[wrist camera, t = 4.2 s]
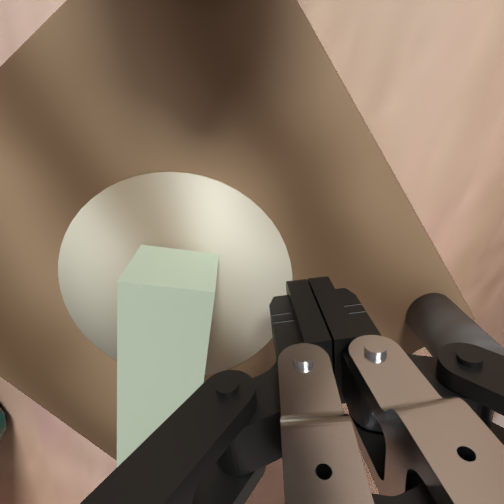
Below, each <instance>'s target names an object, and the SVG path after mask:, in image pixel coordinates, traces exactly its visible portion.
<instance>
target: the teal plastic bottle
mask: <svg viewBox="0 0 504 504" xmlns="http://www.w3.org/2000/svg"><path fill="white" fill-rule="evenodd" d="M6 427H7V422H6V417H5V413H4V411H3V410H2V409H1V407H0V441H1V440H2V438H3V435H4V433H5V431H6Z"/></svg>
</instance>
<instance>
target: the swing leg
mask: <svg viewBox="0 0 504 504" xmlns="http://www.w3.org/2000/svg"><path fill="white" fill-rule="evenodd" d="M218 258H219V254H215V253H207V252H198V251H190V250H182V249H173V248H165V247H157V246H148V245H141V246H140V247H139V249H138V250H137V252H136V253H135V255H134V257H133V258H132V260H131V261H130V263H129V264H128V266H127V267H126V269H125V271H124V272H123V274H122V275H121V277H120V278H119V280H118V281H117V467H118V466H119V465H120V464H121V463H122V462H123V461H124V460H125V459H126V458H127V457H128V456H129V455H130V454H131V453H133V452H134V451H135V450H136V449H137V448H138V447H139V446H140V445H141V444H142V443H143V442H144V441H145V440H146V439H147V438H148V437H149V436H150V435H151V434H152V433H153V432H154V431H155V430H156V429H157V428H158V427H159V426H160V425H161V424H162V423H163V422H164V421H165V420H166V419H167V418H168V417H169V416H170V415H171V414H172V413H173V412H175V411H176V410H177V409H178V408H179V407H180V406H181V405H182V404H183V403H184V402H185V401H186V400H187V399H188V398H189V397H190V396H191V395H192V394H193V393H194V392H195V391H196V390H197V389H198V388H199V387H200V386H201V385H202V384H203V383H204V375H205V368H206V360H207V352H208V344H209V336H210V328H211V321H212V313H213V305H214V297H215V289H216V278H217V268H218Z"/></svg>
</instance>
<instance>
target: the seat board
mask: <svg viewBox="0 0 504 504" xmlns="http://www.w3.org/2000/svg"><path fill="white" fill-rule="evenodd" d="M141 245H148V246H157V247H165V248H173V249H182V250H190V251H198V252H207V253H215V254H219V258H218V268H217V278H216V289H215V297H214V305H213V313H212V321H211V328H210V336H209V344H208V352H207V360H206V368H205V375H204V382H205V381H206V380H207V379H209V378H210V377H211V376H213V375H214V374H216V373H218V372H221V371H225V370H239V371H243V372H245V373H247V374H248V375H250V376H251V378H254V377H256V376H259V375H261V374H263V373H265V372H267V371H268V370H269V369H271V368H272V366H273V365H274V364H275V362H276V355H275V349H274V343H273V336H272V327H271V317H270V308H269V305H270V303H271V301H272V299H273V297H275V296H283V295H287V293H286V281H293V280H301V279H308V278H316V277H324V276H328V277H329V278H330V280H331V282H332V284H333V286H334V288H335V289H339V288H346V289H348V290H349V291H351V292H352V293H354V294H356V296H357V298H358V299H359V301H360V302H361V305H362V306H363V307H364V309H365V310H366V312H367V313H368V315H369V317H370V318H371V320H372V321H373V323H374V324H375V326H376V328H377V329H378V331H379V332H380V334H381V336H383V337H387V338H389V339H391V340H393V341H395V342H396V343H397V344H398V345H399V346H400V347H401V348H402V349H403V351H404V352H405V353H407V354H412V353H414V352H415V351H417V350H419V349H421V348H423V347H424V346H425V347H426V349H427V350H428V351H429V353H430V354H431V355H432V356H433V357H437V356H438V351H439V349H440V348H441V347H442V346H444V345H446V344H449V343H457V342H460V343H469V344H473V345H477V346H480V347H482V348H485V349H487V350H490V351H493V352H495V353H498V354H500V355H503V356H504V348H503V347H501V346H500V345H499V344H498V343H497V342H496V341H495V340H494V339H493V338H492V337H491V336H489V335H488V334H487V333H486V332H485V331H484V330H483V329H482V328H481V327H480V326H479V325H477V324H476V323H475V322H474V321H473V319H474V318H475V317H474V316H473V314H472V312H471V310H470V309H469V307H468V305H467V303H466V301H465V300H464V298H463V296H462V294H461V292H460V291H459V289H458V287H457V285H456V284H455V282H454V280H453V278H452V276H451V275H450V273H449V271H448V269H447V267H446V266H445V264H444V262H443V260H442V259H441V257H440V255H439V253H438V251H437V250H436V248H435V246H434V244H433V242H432V241H431V239H430V237H429V235H428V234H427V232H426V230H425V228H424V226H423V225H422V223H421V221H420V219H419V217H418V216H417V214H416V212H415V210H414V209H413V207H412V205H411V203H410V201H409V200H408V198H407V196H406V194H405V192H404V191H403V189H402V187H401V185H400V184H399V182H398V180H397V178H396V176H395V175H394V173H393V171H392V169H391V167H390V166H389V164H388V162H387V160H386V159H385V157H384V155H383V153H382V151H381V150H380V148H379V146H378V144H377V142H376V141H375V139H374V137H373V135H372V134H371V132H370V130H369V128H368V126H367V125H366V123H365V121H364V119H363V117H362V116H361V114H360V112H359V110H358V109H357V107H356V105H355V103H354V101H353V100H352V98H351V96H350V94H349V92H348V91H347V89H346V87H345V85H344V84H343V82H342V80H341V78H340V76H339V75H338V73H337V71H336V69H335V67H334V66H333V64H332V62H331V60H330V59H329V57H328V55H327V53H326V51H325V50H324V48H323V46H322V44H321V42H320V41H319V39H318V37H317V35H316V34H315V32H314V30H313V28H312V26H311V25H310V23H309V21H308V19H307V17H306V16H305V14H304V12H303V10H302V9H301V7H300V5H299V3H298V1H297V0H67V1H66V2H65V3H64V4H63V5H62V6H61V7H60V8H59V9H58V10H57V11H56V12H55V13H54V14H53V15H52V16H51V17H50V18H49V19H48V20H47V21H46V22H45V23H44V24H43V25H42V26H41V27H40V28H39V29H38V30H37V31H36V32H35V33H34V34H33V35H32V36H31V37H30V38H29V39H28V40H27V41H26V42H25V43H24V44H23V45H22V46H21V47H20V48H19V49H18V50H17V51H16V52H15V53H14V54H13V55H12V56H11V57H10V58H9V59H8V60H7V61H6V62H5V63H4V64H3V65H2V66H1V67H0V376H1V377H2V378H3V379H5V380H6V381H7V382H9V383H10V384H12V385H13V386H14V387H16V388H17V389H18V390H20V391H21V392H23V393H24V394H25V395H27V396H28V397H30V398H31V399H32V400H34V401H35V402H36V403H38V404H39V405H41V406H42V407H43V408H45V409H46V410H48V411H49V412H50V413H52V414H53V415H54V416H56V417H57V418H59V419H60V420H61V421H63V422H64V423H66V424H67V425H68V426H70V427H71V428H72V429H74V430H75V431H77V432H78V433H79V434H81V435H82V436H83V437H85V438H86V439H88V440H89V441H90V442H92V443H93V444H95V445H96V446H97V447H99V448H100V449H101V450H103V451H104V452H106V453H107V454H108V455H110V456H111V457H113V458H114V459H115V460H117V281H118V280H119V278H120V277H121V275H122V274H123V272H124V271H125V269H126V267H127V266H128V264H129V263H130V261H131V260H132V258H133V257H134V255H135V253H136V252H137V250H138V249H139V247H140V246H141Z"/></svg>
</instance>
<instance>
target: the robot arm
mask: <svg viewBox="0 0 504 504" xmlns="http://www.w3.org/2000/svg"><path fill="white" fill-rule="evenodd" d="M286 293H287V295H283V296H275V297H273V299H272V301H271V303H270V305H269V308H270V317H271V327H272V336H273V343H274V349H275V355H276V362H275V364H274V365H273V366H272V368H271V369H269V370H268V371H267V372H265V373H263V374H261V375H259V376H256V377H254V378H251V376H250V375H248V374H247V373H245V372H243V371H239V370H225V371H221V372H218V373H216V374H214V375H213V376H211V377H210V378H209V379H207V380H206V381H205V382H204V383H203V384H202V385H201V386H200V387H199V388H198V389H197V390H196V391H195V392H194V393H193V394H192V395H191V396H190V397H189V398H188V399H187V400H186V401H185V402H184V403H183V404H182V405H181V406H180V407H179V408H178V409H177V410H176V411H175V412H173V413H172V414H171V415H170V416H169V417H168V418H167V419H166V420H165V421H164V422H163V423H162V424H161V425H160V426H159V427H158V428H157V429H156V430H155V431H154V432H153V433H152V434H151V435H150V436H149V437H148V438H147V439H146V440H145V441H144V442H143V443H142V444H141V445H140V446H139V447H138V448H137V449H136V450H135V451H134V452H133V453H131V454H130V455H129V456H128V457H127V458H126V459H125V460H124V461H123V462H122V463H121V464H120V465H119V466H118V467H117V468H116V469H115V470H114V471H113V472H112V473H111V474H110V475H109V476H108V477H107V478H106V479H105V480H104V481H103V482H102V483H101V484H100V485H99V486H98V487H97V488H96V489H95V490H94V491H93V492H92V493H90V494H89V495H88V496H87V497H86V498H85V499H84V500H83V501H82V502H81V503H80V504H244V503H245V502H246V500H247V499H248V497H249V496H250V494H251V493H252V491H253V490H254V488H255V486H256V485H257V483H258V482H259V480H260V479H261V477H262V476H263V474H264V471H265V468H266V465H268V464H270V463H272V462H274V461H276V460H278V459H280V458H282V459H283V477H284V494H285V504H504V428H503V427H500V426H499V425H497V424H495V423H493V422H492V418H493V414H494V411H495V412H497V413H499V414H501V415H503V416H504V356H503V355H500V354H498V353H495V352H493V351H490V350H487V349H485V348H482V347H480V346H477V345H473V344H469V343H460V342H457V343H449V344H446V345H444V346H442V347H441V348H440V349H439V351H438V356H437V357H428V356H418V355H411V354H407V353H405V352H404V351H403V349H402V348H401V347H400V346H399V345H398V344H397V343H396V342H395V341H393V340H391V339H389V338H387V337H383V336H381V334H380V332H379V331H378V329H377V328H376V326H375V324H374V323H373V321H372V320H371V318H370V317H369V315H368V313H367V312H366V310H365V309H364V307H363V306H362V305H361V302H360V301H359V299H358V298H357V296H356V294H354V293H352V292H351V291H349V290H348V289H346V288H339V289H335V288H334V286H333V284H332V282H331V280H330V278H329V277H328V276H324V277H316V278H308V279H301V280H293V281H286ZM342 403H346V404H347V407H348V410H349V415H348V414H344V411H343V407H342ZM359 449H360V450H359ZM360 451H361V453H362V455H363V458H364V460H365V462H366V464H367V467H368V469H369V471H370V473H371V475H372V478H373V480H374V482H375V484H376V487H377V489H378V492H379V495H378V494H371V490H370V486H369V483H368V479H367V476H366V472H365V468H364V465H363V461H362V458H361V454H360Z"/></svg>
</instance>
